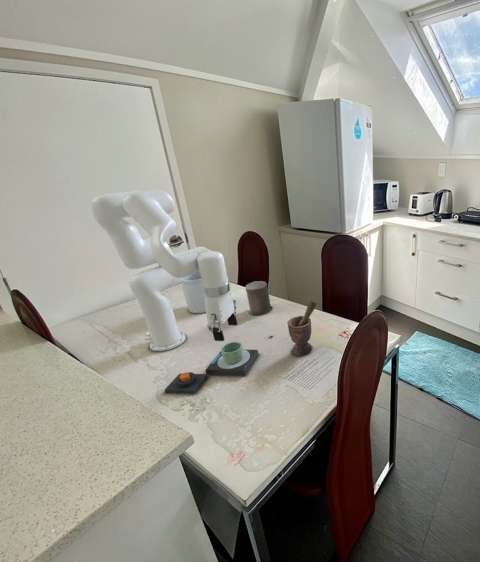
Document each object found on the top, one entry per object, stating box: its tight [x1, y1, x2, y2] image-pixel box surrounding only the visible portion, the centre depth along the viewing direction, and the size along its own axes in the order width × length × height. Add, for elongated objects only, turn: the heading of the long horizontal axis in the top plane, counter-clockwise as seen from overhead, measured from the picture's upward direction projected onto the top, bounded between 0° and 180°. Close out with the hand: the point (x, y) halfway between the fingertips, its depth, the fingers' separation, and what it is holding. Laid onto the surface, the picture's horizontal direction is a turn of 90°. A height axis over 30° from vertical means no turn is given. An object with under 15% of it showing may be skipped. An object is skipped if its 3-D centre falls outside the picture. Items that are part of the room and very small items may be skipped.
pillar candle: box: [244, 280, 272, 316], centre depth 150 cm, size 10×10×15 cm
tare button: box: [180, 372, 190, 382], centre depth 104 cm, size 3×3×2 cm
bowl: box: [220, 341, 244, 364], centre depth 113 cm, size 7×7×5 cm
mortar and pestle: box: [287, 299, 317, 356], centre depth 120 cm, size 12×9×20 cm
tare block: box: [164, 371, 209, 395], centre depth 105 cm, size 10×8×3 cm
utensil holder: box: [180, 271, 206, 314], centre depth 153 cm, size 15×15×18 cm
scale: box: [205, 348, 260, 377], centre depth 114 cm, size 14×12×3 cm
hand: (226, 332), depth 110 cm, fingers open, 9 cm apart
